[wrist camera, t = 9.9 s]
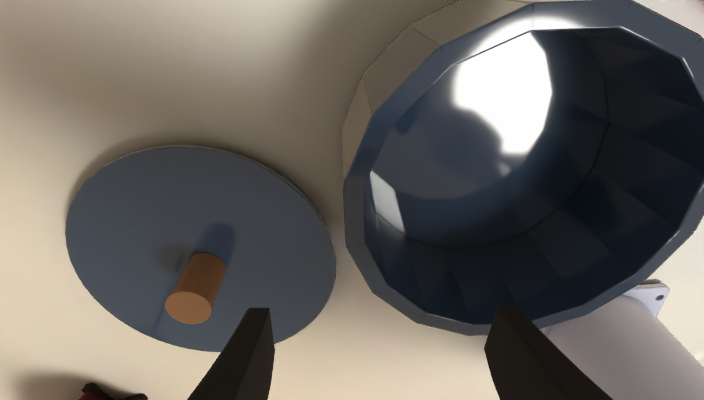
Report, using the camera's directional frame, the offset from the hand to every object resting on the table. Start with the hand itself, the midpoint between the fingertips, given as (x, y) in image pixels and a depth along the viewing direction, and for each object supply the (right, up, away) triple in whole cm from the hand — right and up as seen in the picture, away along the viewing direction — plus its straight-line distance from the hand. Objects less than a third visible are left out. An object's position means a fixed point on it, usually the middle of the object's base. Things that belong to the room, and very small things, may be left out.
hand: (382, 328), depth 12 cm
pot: (+6, +7, +8) cm, 12 cm away
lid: (-10, 0, +11) cm, 15 cm away
